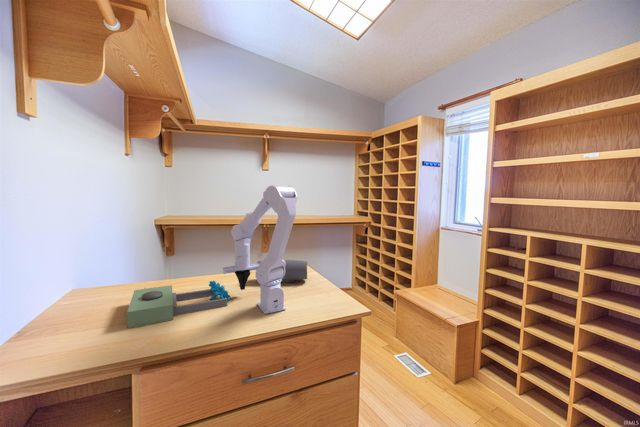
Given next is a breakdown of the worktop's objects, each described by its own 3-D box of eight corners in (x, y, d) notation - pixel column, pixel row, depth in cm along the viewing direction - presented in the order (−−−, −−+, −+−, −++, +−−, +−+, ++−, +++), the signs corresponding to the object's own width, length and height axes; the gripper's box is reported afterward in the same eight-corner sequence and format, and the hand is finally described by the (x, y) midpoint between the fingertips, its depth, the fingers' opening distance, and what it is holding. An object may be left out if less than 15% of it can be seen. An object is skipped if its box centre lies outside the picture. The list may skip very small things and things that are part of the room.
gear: (227, 301, 98) (208, 282, 98) (215, 313, 98) (195, 293, 97) (234, 294, 109) (217, 276, 109) (223, 305, 109) (206, 287, 108)
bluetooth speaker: (306, 278, 132) (307, 257, 131) (307, 284, 123) (307, 263, 122) (259, 278, 130) (259, 257, 130) (256, 284, 121) (256, 262, 120)
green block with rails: (228, 309, 96) (228, 292, 95) (127, 328, 81) (126, 308, 81) (219, 290, 113) (219, 276, 112) (134, 303, 99) (134, 287, 98)
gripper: (257, 251, 113) (257, 283, 115) (221, 254, 106) (221, 288, 108) (262, 255, 107) (262, 288, 108) (224, 258, 100) (224, 294, 101)
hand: (242, 288), depth 108 cm, fingers closed
